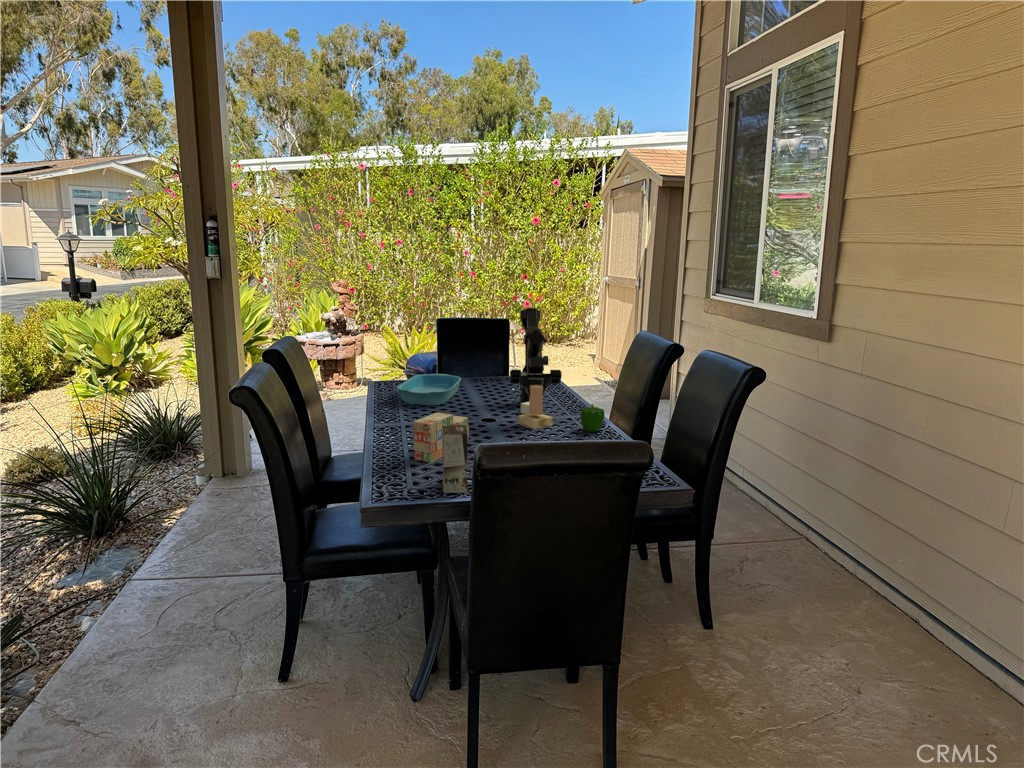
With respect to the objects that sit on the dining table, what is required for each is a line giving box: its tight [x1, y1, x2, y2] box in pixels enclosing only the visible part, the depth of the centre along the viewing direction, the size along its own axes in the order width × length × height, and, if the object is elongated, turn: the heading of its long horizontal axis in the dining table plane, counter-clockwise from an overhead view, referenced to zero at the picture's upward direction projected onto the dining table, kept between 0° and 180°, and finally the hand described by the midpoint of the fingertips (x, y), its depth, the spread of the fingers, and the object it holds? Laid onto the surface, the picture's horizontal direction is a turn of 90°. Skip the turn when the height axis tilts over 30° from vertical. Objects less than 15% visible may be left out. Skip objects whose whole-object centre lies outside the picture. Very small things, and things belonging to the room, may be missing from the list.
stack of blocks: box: [413, 412, 470, 464], centre depth 204 cm, size 21×6×12 cm, turn 152°
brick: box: [520, 402, 530, 415], centre depth 254 cm, size 5×5×4 cm
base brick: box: [517, 413, 554, 430], centre depth 237 cm, size 9×9×4 cm
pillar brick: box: [529, 384, 544, 415], centre depth 236 cm, size 4×4×10 cm
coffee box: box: [442, 425, 468, 494], centre depth 173 cm, size 9×6×16 cm
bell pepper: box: [580, 403, 605, 433], centre depth 231 cm, size 8×8×10 cm
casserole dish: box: [397, 373, 462, 406], centre depth 277 cm, size 37×22×7 cm, turn 172°
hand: (536, 396), depth 234 cm, fingers closed on pillar brick, 4 cm apart
